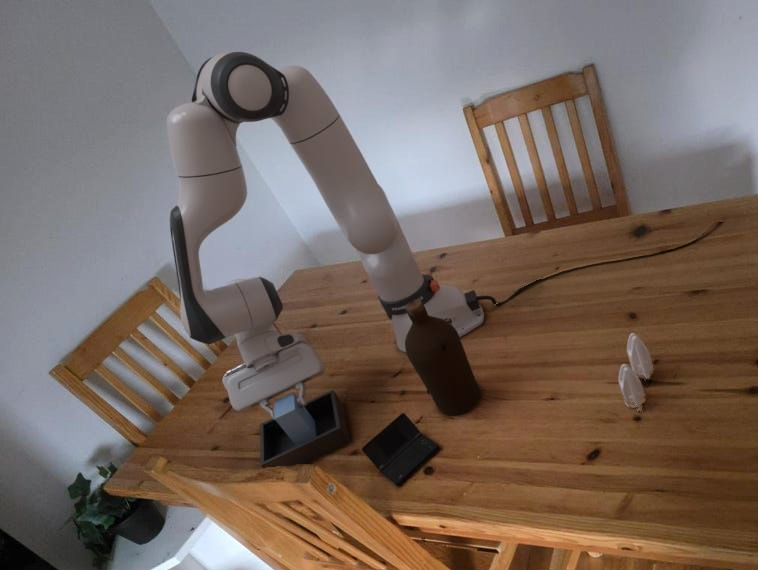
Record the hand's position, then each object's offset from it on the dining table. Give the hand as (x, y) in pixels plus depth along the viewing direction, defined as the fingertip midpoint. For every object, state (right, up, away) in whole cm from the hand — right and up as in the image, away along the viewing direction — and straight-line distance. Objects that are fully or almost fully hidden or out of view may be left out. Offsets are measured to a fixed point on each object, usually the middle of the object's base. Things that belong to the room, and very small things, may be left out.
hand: (290, 412), depth 124 cm
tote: (+3, -7, +5) cm, 9 cm away
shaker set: (+69, +6, -14) cm, 71 cm away
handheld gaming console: (+25, -8, -8) cm, 28 cm away
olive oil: (+35, +3, 0) cm, 35 cm away
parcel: (+2, -5, +4) cm, 6 cm away
